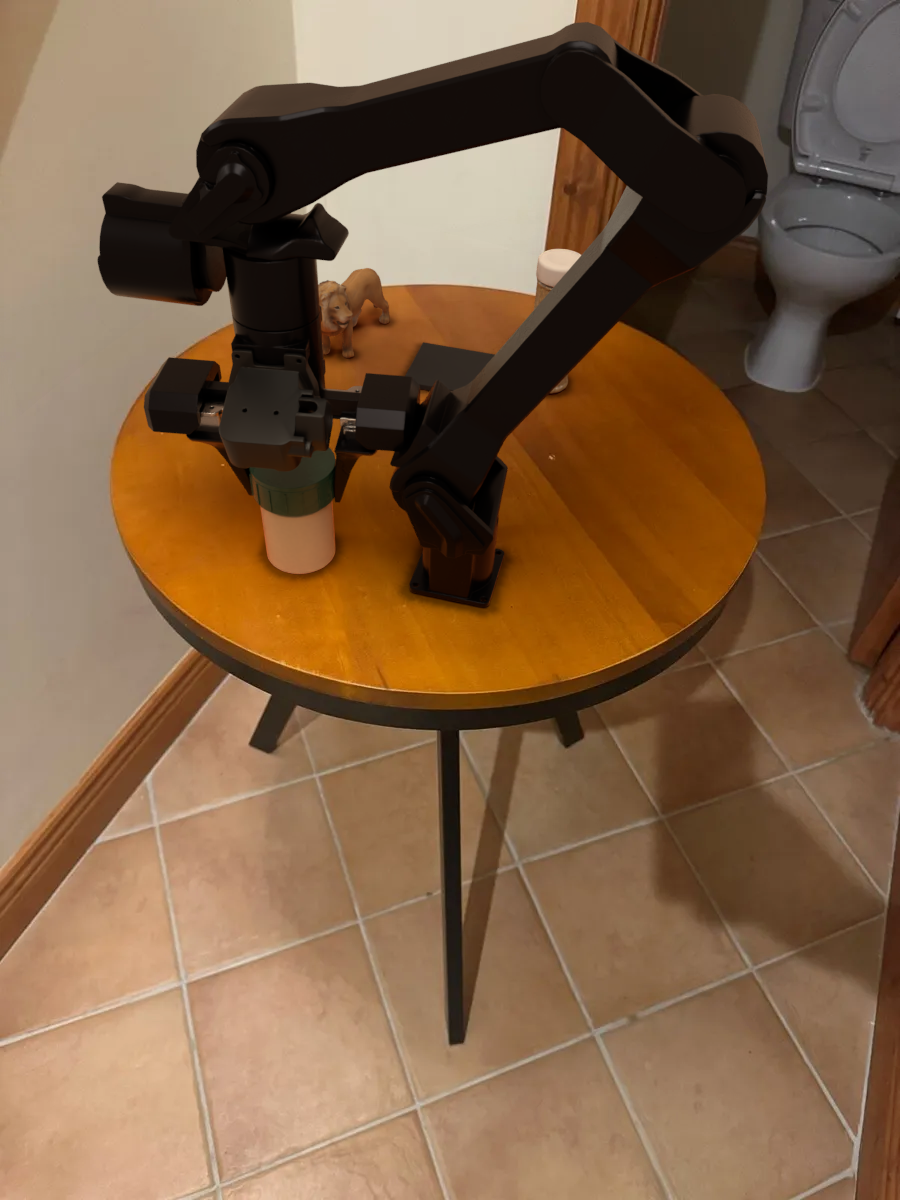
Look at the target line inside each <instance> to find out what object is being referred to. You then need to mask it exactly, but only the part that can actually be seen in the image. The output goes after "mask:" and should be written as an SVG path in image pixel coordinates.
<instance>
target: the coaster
mask: <svg viewBox="0 0 900 1200" xmlns="http://www.w3.org/2000/svg"><path fill="white" fill-rule="evenodd" d="M495 354H496V353H494V354H493V353H489V352H484V351H483V352H482V351H476V350H470V349H466V348H459V347H455V346H454V347H453V346H447V345H443V344H435V343H430V342H422V344H421V345H420V346H419V349H418V351H417V353H416V354H415V356H414V358H413V360H412V362H411V364H410V366H409V367H408V370H407V371H406V373H405V375H404V376H409V377H413V378H414V379H415V381H416V382H417V383H418V384H419V386H420V390H424V391H428V392H430V390H431V388H432V387H433V385H434V383H435V382H436V380H440V381H441V382H442V383H443V384H444V385H445V386H446V387H447V388H448V389H449V390H450V391H454V390H456V389H459V388H461V387H464V386H466V385H468V384H469V383H470V382H471V381H473V380H474V379H475V377H476V376H477V375H478V374H479V373H480V372H481V371H482V369H483V368H484V367H485V366H486V365H487V364H488V362H489V361H490V360H491V359H492V358H493V357H494V356H495Z"/></svg>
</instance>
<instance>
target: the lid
mask: <svg viewBox="0 0 900 1200" xmlns="http://www.w3.org/2000/svg"><path fill="white" fill-rule="evenodd" d="M335 466H336V454H335V452H333V450H332V448H330V447H329V448H328V449H327V450H326V451H314V452H313V453H312V457H311V458H308V457H302V459H301V462H300V464H299V466H298V467H297V468H295V469H294V470H291V471H277V470H275V469H267V468H255V467H249V470H250V474H249V477H250V484H251V490H252V496H251V497H253V499H254V500H255V503H256V504H257V505H258V506H259V507H260V506H261V507H262V508H263V509H265V510H267V511H269V512H271V513H274V514H277V515H282V516H302V515H308V514H311V513H314V512H317V511H319V510H321V509H323V508H324V507H326V506H327V505H328V504H330V502H331V501H332V502H333V500H335V498H334V478H335Z"/></svg>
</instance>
